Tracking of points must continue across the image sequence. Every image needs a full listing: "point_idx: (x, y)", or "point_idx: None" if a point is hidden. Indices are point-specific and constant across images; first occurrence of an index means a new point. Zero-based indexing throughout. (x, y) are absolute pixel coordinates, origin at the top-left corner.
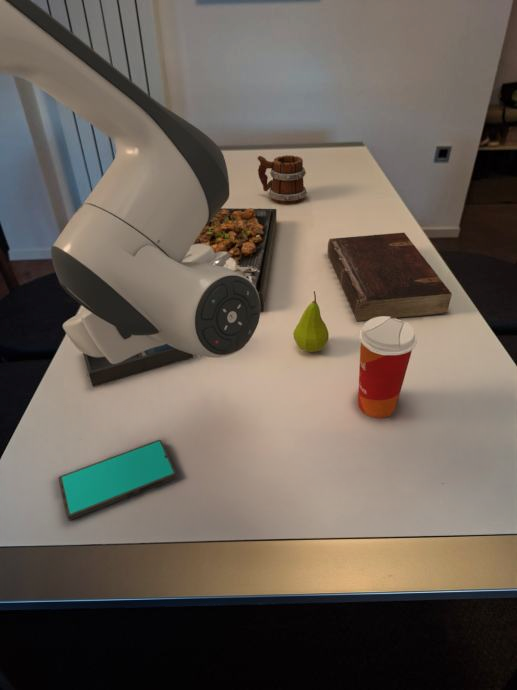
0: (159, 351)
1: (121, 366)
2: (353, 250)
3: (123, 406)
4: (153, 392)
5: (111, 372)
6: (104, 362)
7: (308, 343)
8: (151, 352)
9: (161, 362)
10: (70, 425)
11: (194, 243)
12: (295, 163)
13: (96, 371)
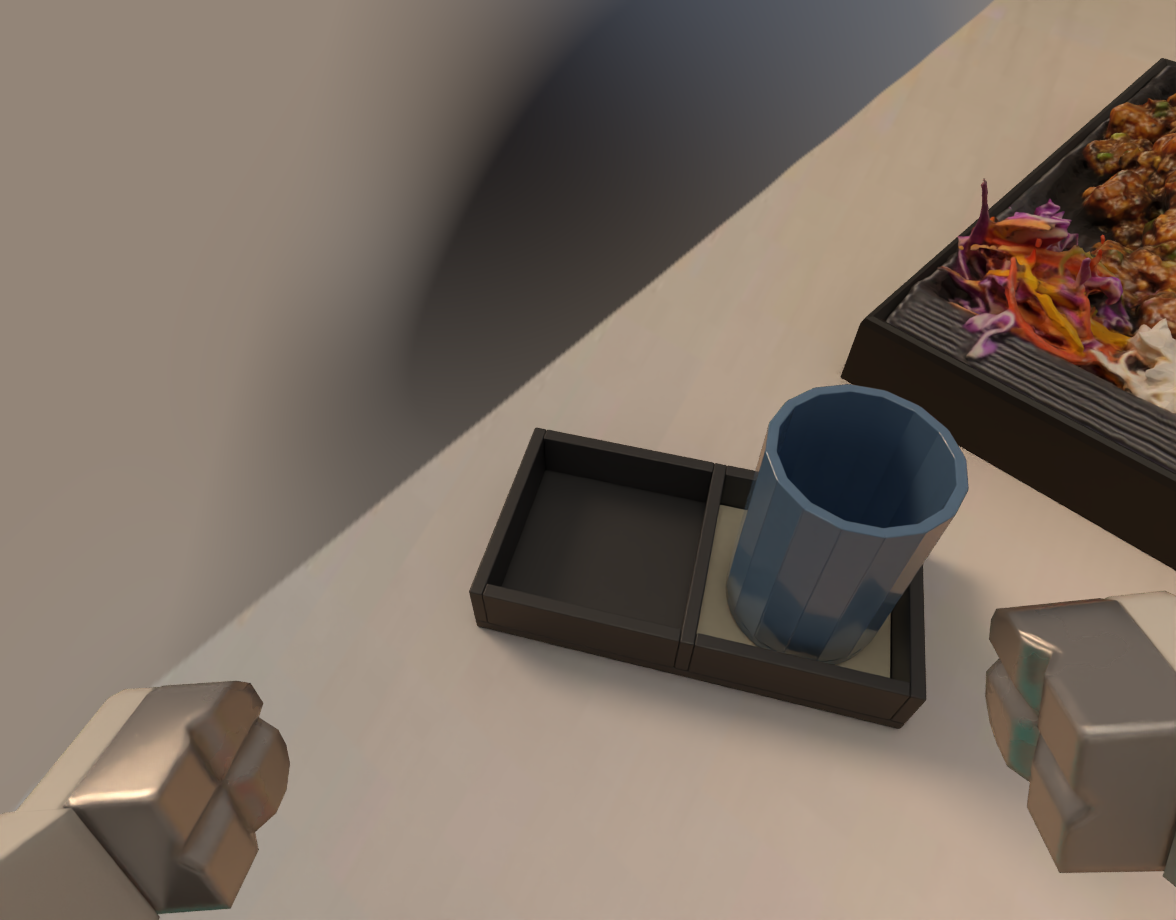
0: (775, 638)
1: (596, 627)
2: None
3: (507, 814)
4: (651, 821)
5: (553, 624)
6: (573, 539)
7: None
8: (744, 617)
9: (759, 683)
10: (295, 770)
11: (1140, 197)
12: None
13: (498, 599)
